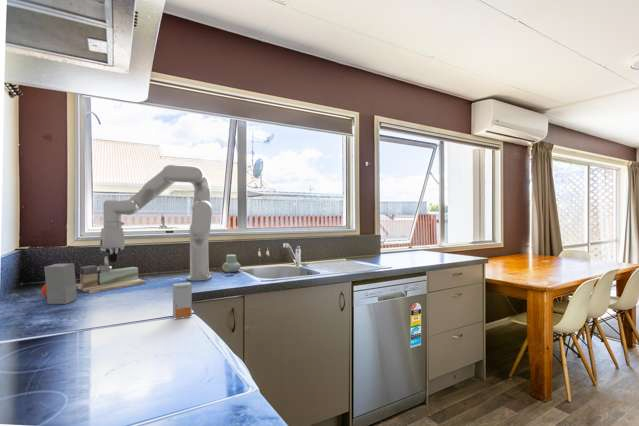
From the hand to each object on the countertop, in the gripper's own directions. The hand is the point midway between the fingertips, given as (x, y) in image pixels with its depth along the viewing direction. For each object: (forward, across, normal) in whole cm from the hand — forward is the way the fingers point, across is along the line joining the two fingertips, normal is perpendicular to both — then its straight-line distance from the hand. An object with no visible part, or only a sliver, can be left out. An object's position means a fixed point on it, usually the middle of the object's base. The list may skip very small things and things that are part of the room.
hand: (112, 261), depth 176 cm
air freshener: (+12, -59, +17) cm, 63 cm away
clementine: (+12, +26, +4) cm, 29 cm away
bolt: (+4, +6, 0) cm, 7 cm away
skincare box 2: (+12, +6, +73) cm, 74 cm away
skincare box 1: (+12, +26, +16) cm, 33 cm away
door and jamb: (+12, +1, 0) cm, 12 cm away
